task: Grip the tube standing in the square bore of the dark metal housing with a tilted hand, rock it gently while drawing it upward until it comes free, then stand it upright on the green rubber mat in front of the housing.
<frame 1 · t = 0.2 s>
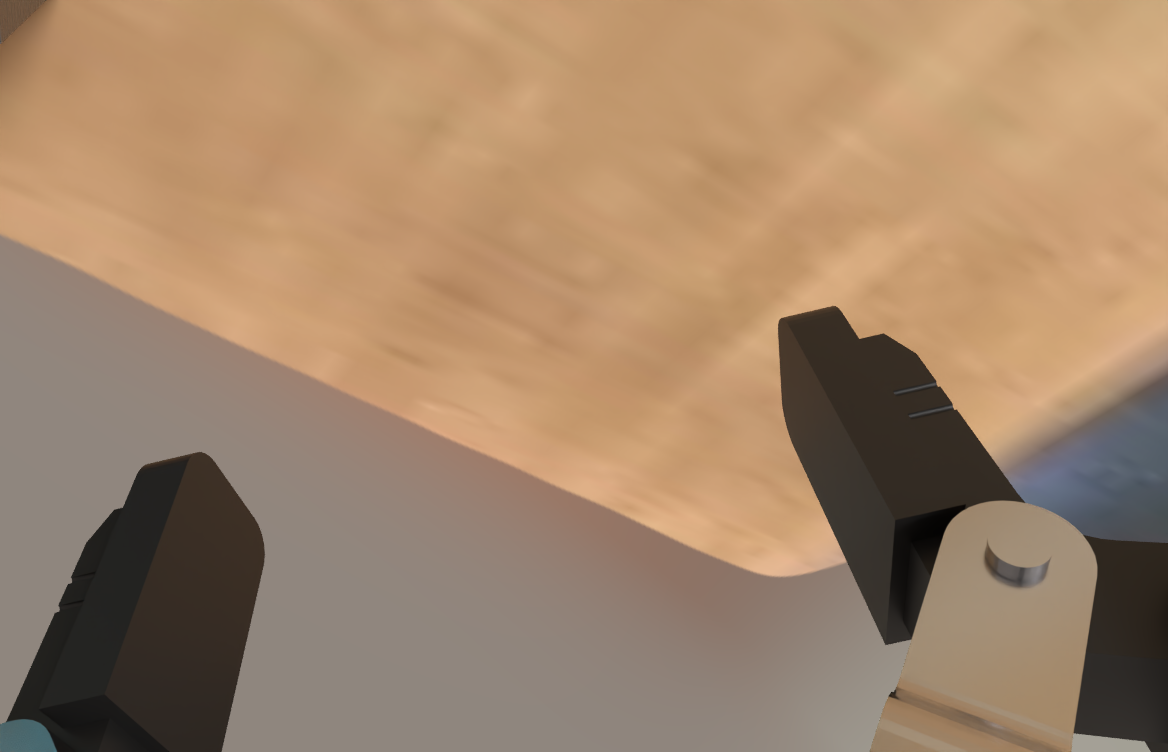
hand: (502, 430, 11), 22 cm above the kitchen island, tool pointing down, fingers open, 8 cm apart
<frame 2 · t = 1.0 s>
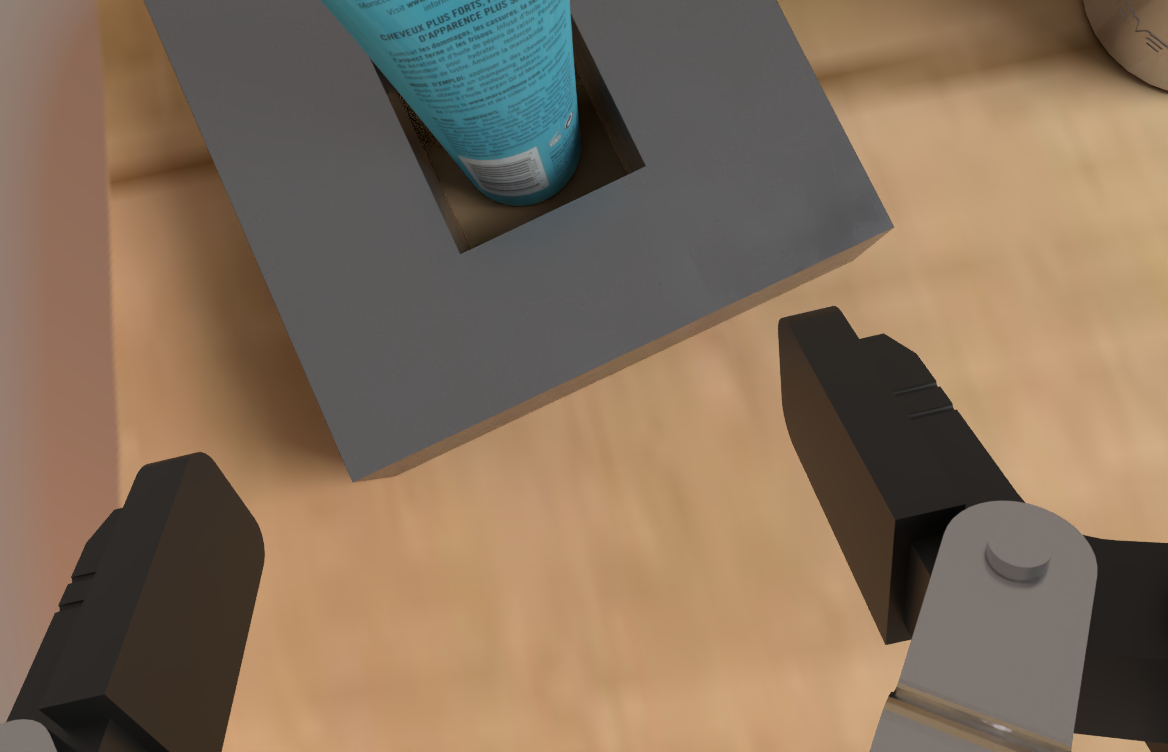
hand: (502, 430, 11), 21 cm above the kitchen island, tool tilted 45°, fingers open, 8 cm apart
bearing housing: (517, 147, 33), on the kitchen island
tube: (518, 149, 33), resting in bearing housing
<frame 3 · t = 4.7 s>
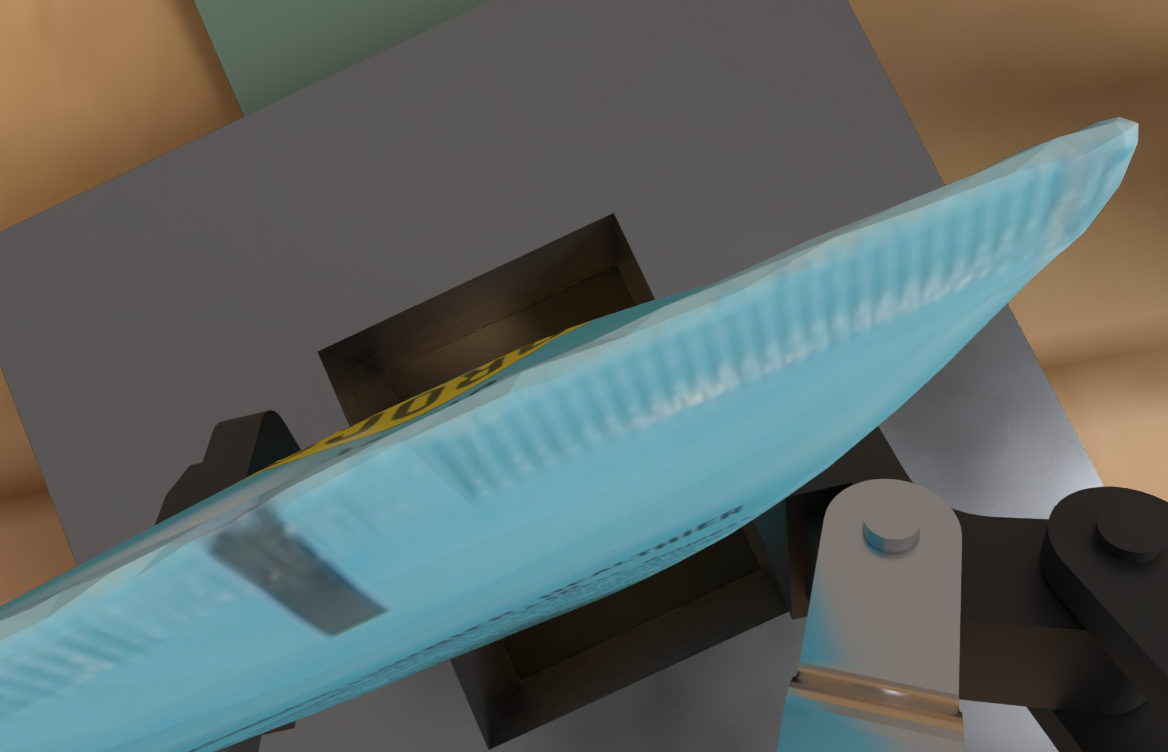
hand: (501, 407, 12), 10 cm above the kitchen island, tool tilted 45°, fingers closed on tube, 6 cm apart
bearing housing: (569, 468, 22), on the kitchen island
tube: (569, 468, 22), resting in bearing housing, touching gripper
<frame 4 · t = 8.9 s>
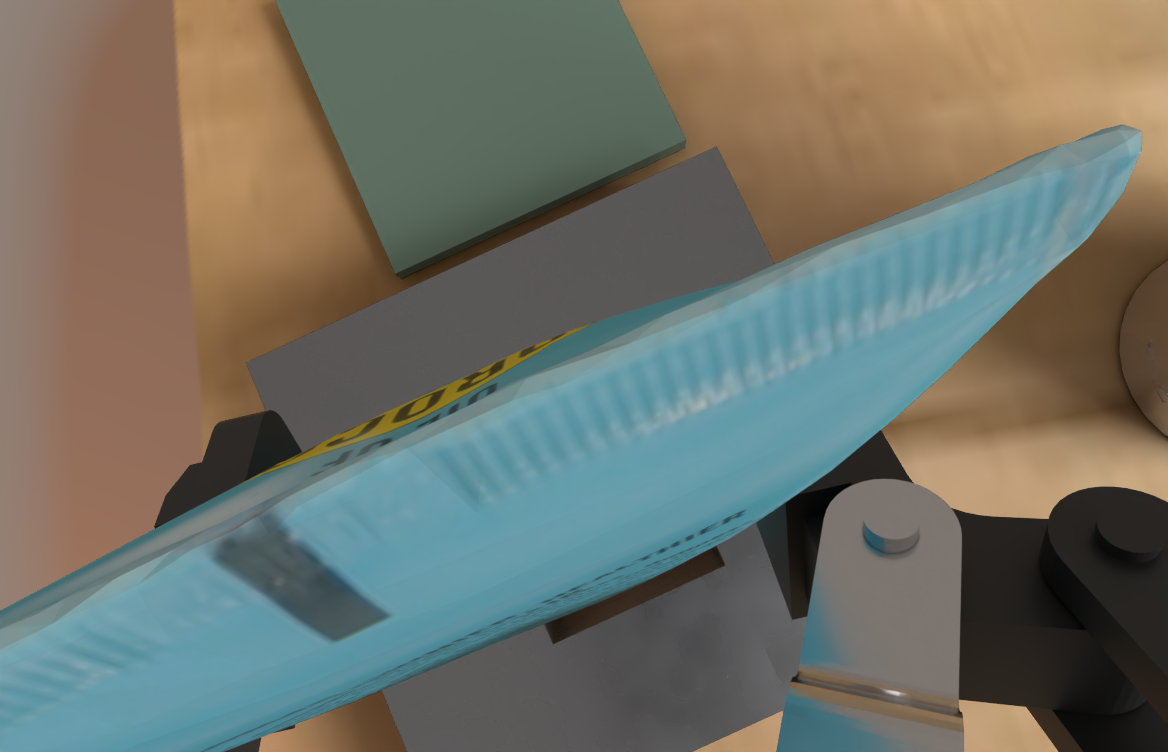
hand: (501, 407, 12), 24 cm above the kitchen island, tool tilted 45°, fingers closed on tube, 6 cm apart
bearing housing: (593, 486, 35), on the kitchen island
rubber mat: (480, 77, 37), on the kitchen island
tube: (569, 469, 22), point 13 cm above the kitchen island, touching gripper
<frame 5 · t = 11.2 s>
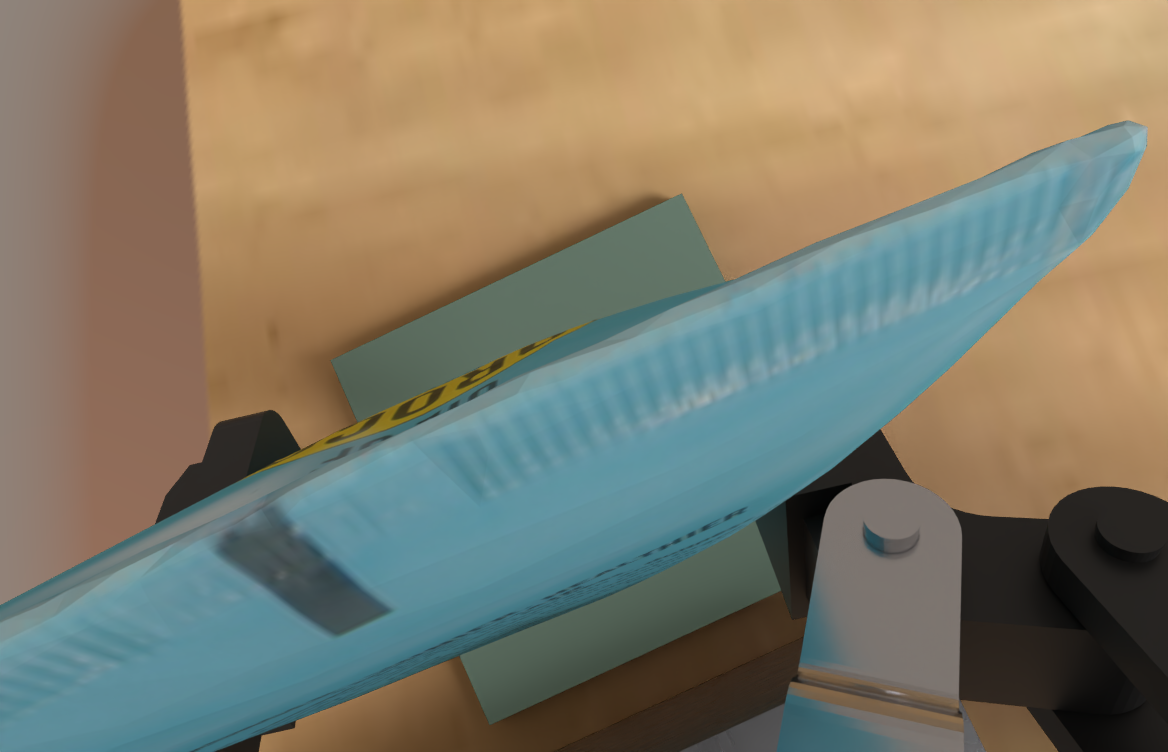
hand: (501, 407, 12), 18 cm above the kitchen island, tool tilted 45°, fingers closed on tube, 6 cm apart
rubber mat: (589, 454, 30), on the kitchen island
tube: (567, 469, 22), point 8 cm above the kitchen island, touching gripper
when the fingers open (13 cm above the kitchen island, at t = 13.1 s): tube drops 1 cm, point 1 cm above the kitchen island.
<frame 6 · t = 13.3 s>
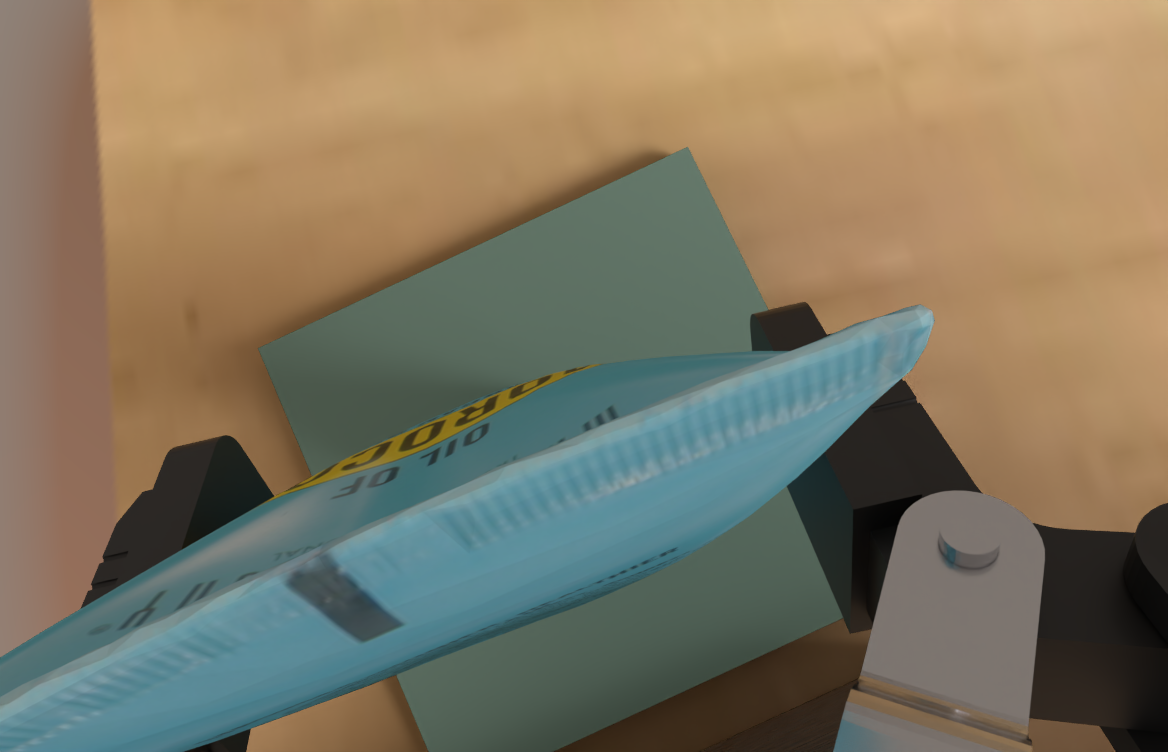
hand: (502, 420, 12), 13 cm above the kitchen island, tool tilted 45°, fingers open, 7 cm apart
rubber mat: (573, 463, 24), on the kitchen island
tube: (557, 477, 24), point 1 cm above the kitchen island, touching gripper
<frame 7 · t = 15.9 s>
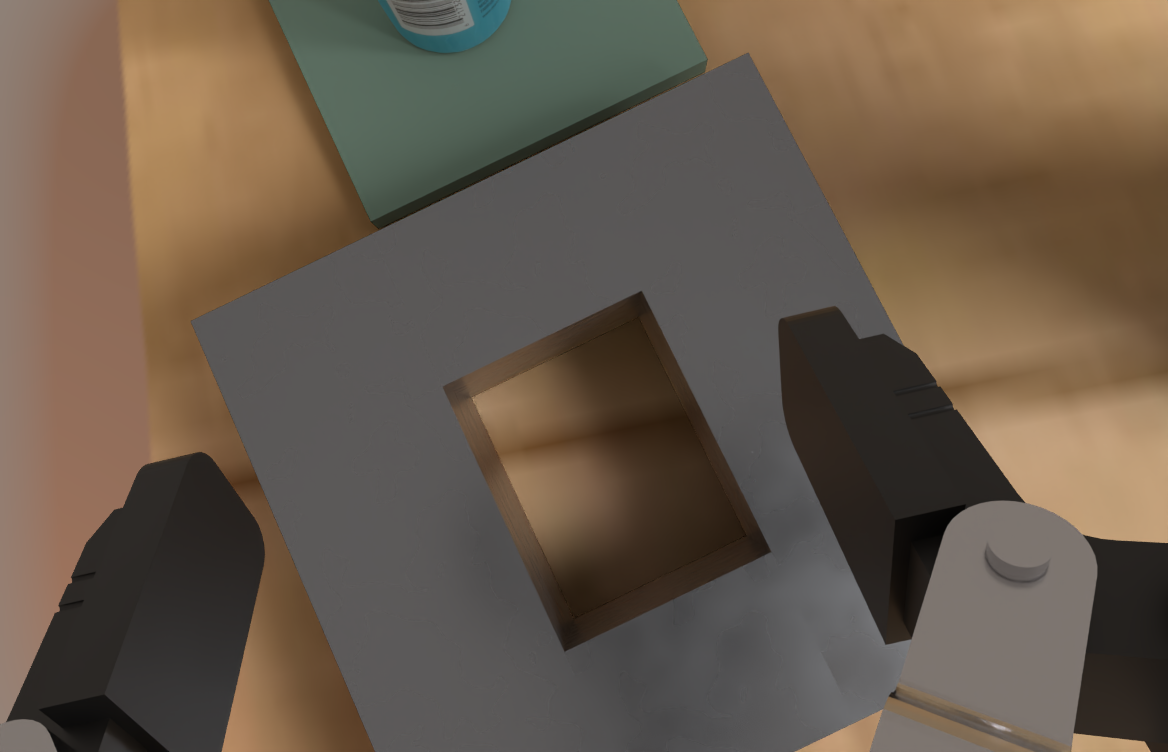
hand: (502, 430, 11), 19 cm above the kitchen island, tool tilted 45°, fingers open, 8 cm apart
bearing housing: (606, 465, 30), on the kitchen island
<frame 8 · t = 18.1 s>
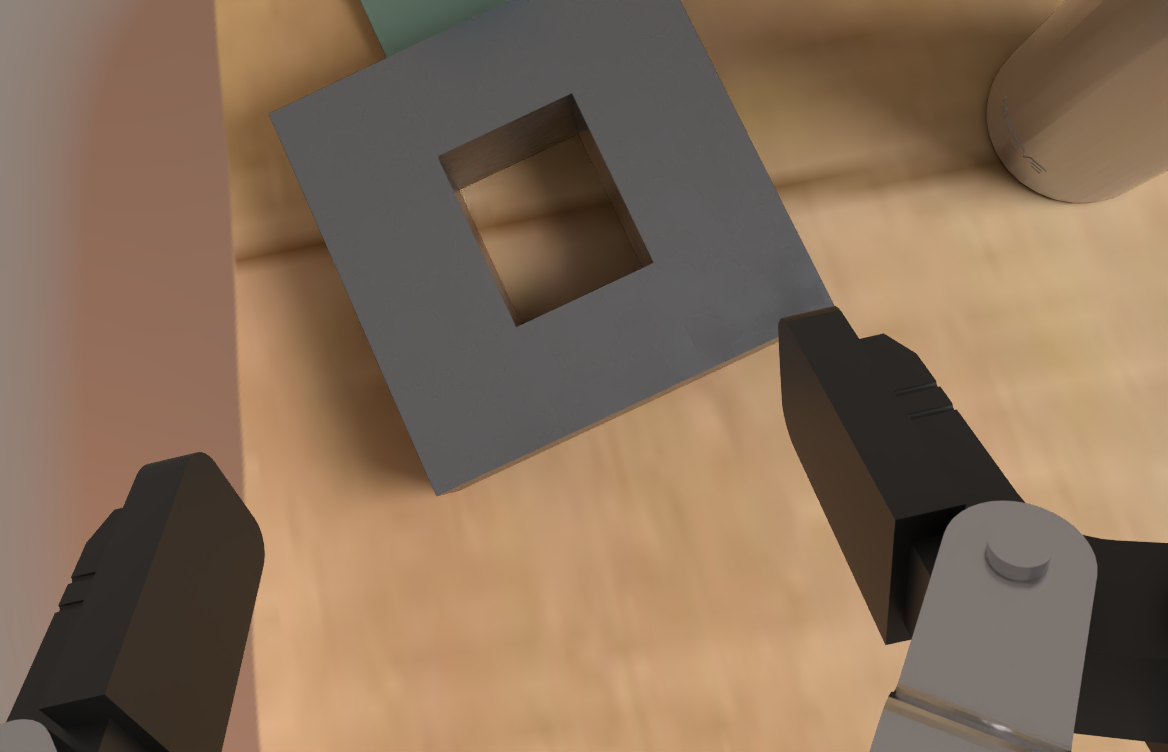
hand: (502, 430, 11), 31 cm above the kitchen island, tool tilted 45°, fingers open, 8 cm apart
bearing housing: (553, 236, 43), on the kitchen island
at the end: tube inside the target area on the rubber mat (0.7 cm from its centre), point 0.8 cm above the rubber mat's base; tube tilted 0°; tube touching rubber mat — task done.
